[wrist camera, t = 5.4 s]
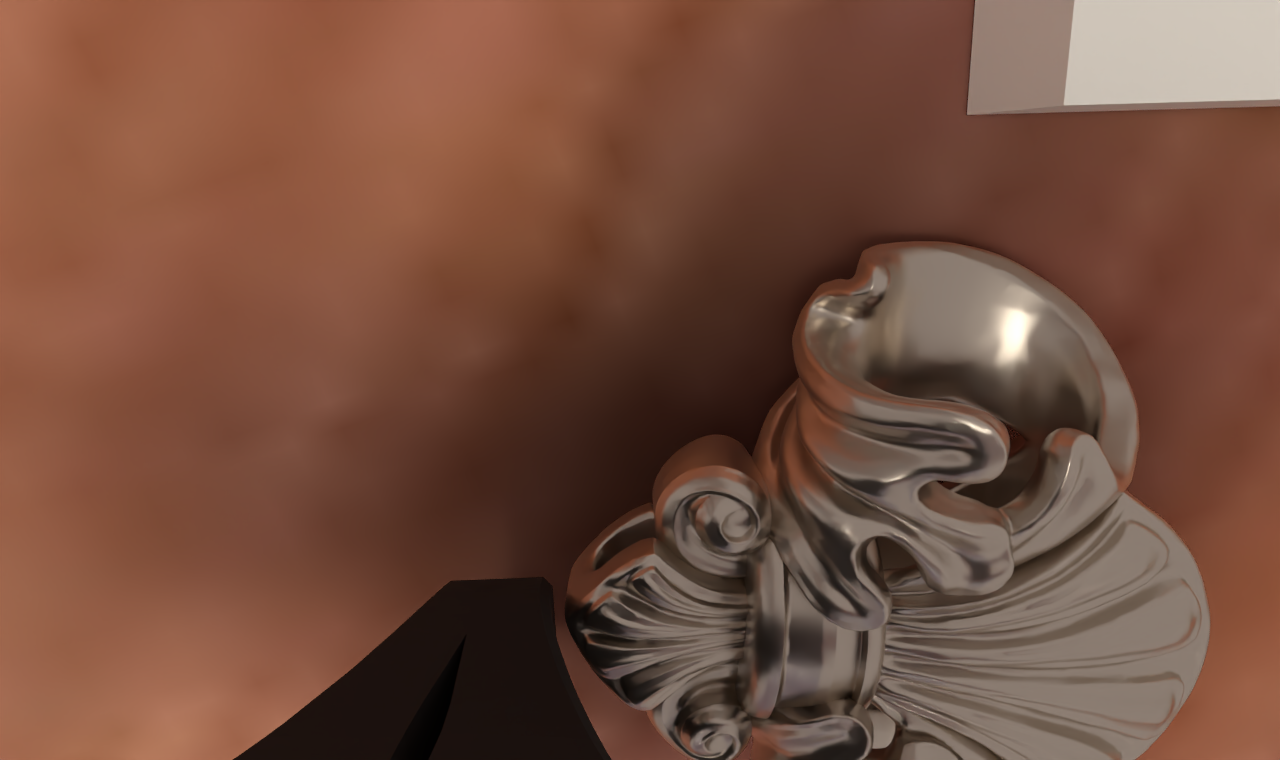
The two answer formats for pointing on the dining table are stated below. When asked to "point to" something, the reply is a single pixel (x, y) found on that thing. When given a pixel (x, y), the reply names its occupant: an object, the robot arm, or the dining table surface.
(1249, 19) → the u-shaped frame
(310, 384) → the dining table surface
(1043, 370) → the ornament
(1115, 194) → the dining table surface
